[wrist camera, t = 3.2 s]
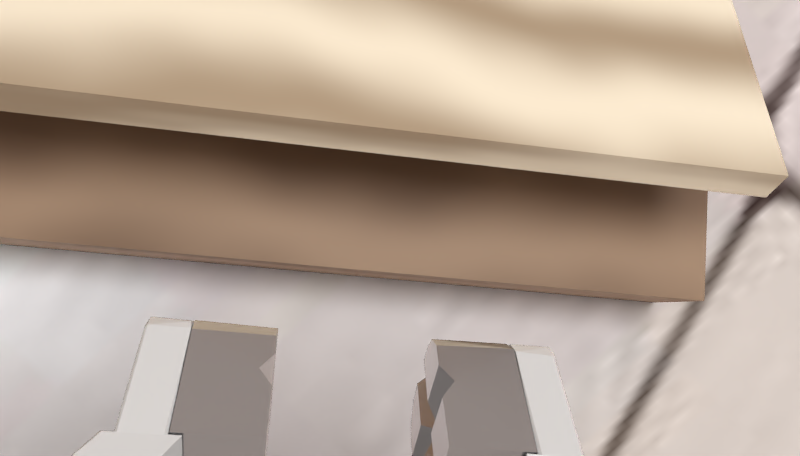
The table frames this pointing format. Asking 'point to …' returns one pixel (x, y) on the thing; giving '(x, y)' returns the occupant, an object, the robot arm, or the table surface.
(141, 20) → the ash plank
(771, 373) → the table surface
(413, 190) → the wooden box
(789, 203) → the table surface
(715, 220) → the table surface
